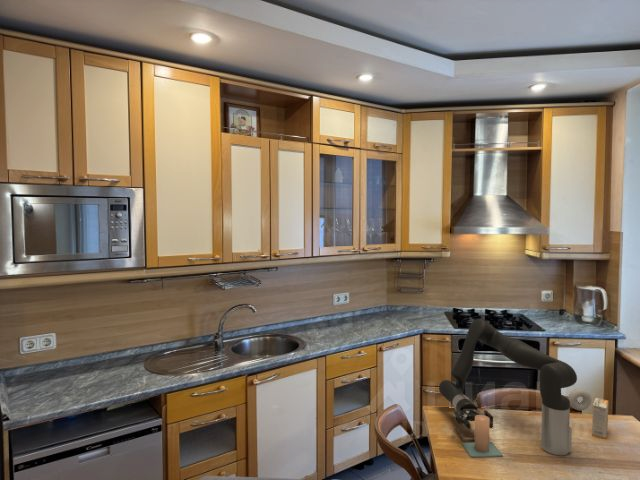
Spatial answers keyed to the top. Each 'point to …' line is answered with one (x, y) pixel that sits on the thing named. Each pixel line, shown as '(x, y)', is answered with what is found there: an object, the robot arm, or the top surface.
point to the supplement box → (600, 418)
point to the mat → (474, 453)
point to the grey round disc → (585, 401)
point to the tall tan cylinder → (482, 433)
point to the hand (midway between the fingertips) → (480, 426)
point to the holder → (463, 439)
